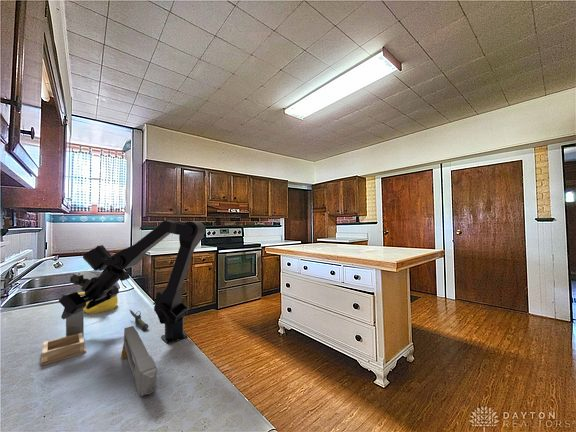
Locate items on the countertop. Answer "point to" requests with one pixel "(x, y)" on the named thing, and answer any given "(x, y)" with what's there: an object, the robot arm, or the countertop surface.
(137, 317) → the knife
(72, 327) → the post
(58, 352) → the dock
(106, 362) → the countertop surface
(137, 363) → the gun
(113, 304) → the teapot
